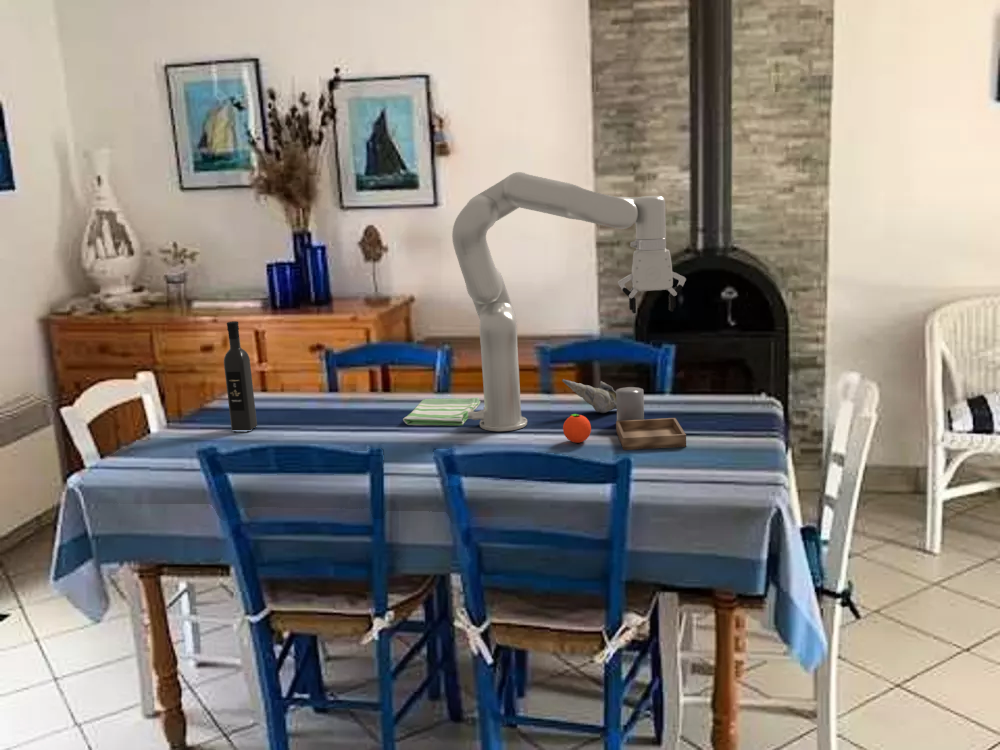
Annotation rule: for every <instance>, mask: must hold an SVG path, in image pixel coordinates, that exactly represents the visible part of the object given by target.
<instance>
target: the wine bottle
mask: <svg viewBox="0 0 1000 750" xmlns="http://www.w3.org/2000/svg"><path fill="white" fill-rule="evenodd" d="M239 327H240V325H239V321H238V320H237V321H236V320H234V321H228V322H226V328H227V329H226V330H227V333H228V343H229V350H227V352H226V353H225V355H224V356H223V368H224V376H225V377H224V378H225V385H226V391H227V392H226V393H227V394H226V395H227V402H228V409H229V418H230V426H231V427H230V428H231V431H232V430H251V429H253V428H254V427H256V426H257V427H258V421H257V412H256V404H255V396H254V395H255V394H254V385H253V378H252V377H253V376H252V369H251V367H252V366H251V359H250V356H249V354H248V352H247V351H246V350H245V349H243V348H242V346H241V341H240V339H241V338H240V332H239V330H240V328H239ZM257 427H256V428H257ZM253 430H254V429H253Z"/></svg>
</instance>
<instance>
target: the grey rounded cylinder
mask: <svg viewBox="0 0 1000 750" xmlns="http://www.w3.org/2000/svg"><path fill="white" fill-rule="evenodd" d="M615 392H616V404H617V409H616V421H626V420H645V398H644V389H643V388H641V387H634V386H627V387H620V388H617V389H616V390H615Z"/></svg>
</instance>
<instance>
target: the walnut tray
mask: <svg viewBox="0 0 1000 750" xmlns="http://www.w3.org/2000/svg"><path fill="white" fill-rule="evenodd" d="M615 429H616V432H615V433H616V435H617V437H618V440H619V443H620V445H621V447H622V449H623V451H629V450H630V451H631V450H632V451H634V450H650V449H653V450H654V449H667V448H668V449H672V448H687V434H686V433H685V432H686V431H684V429H683V428H682V426H681V425H680V423H679V421H678V420H677V418H676V417H668V418H650V419H648V418H647V419H645V418H644V420H626V421H617V420H616V421H615Z"/></svg>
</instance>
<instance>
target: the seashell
mask: <svg viewBox="0 0 1000 750" xmlns="http://www.w3.org/2000/svg"><path fill="white" fill-rule="evenodd" d="M561 381H562V383H564V384H565V386H568V388H570V389H571V390H572V392H574V393H576V395H577V396H579V397H580V398H581V399H583V400H584V402H585V403H587V404H588V405H591V406H592V407H593V409H594V411H595V413H601V414H605V413H608V412H609V411H612V410H617V404H616V390H614V388H613V386H611V385H609V384H607V383H606V382H603V381H602V380H600V381H599V385H598V388H597V387H593V386H591V385H588V384H583V383H580V382H579V383H578V382H575V381H571V380H569V379H564V378H563V379H561Z"/></svg>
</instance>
